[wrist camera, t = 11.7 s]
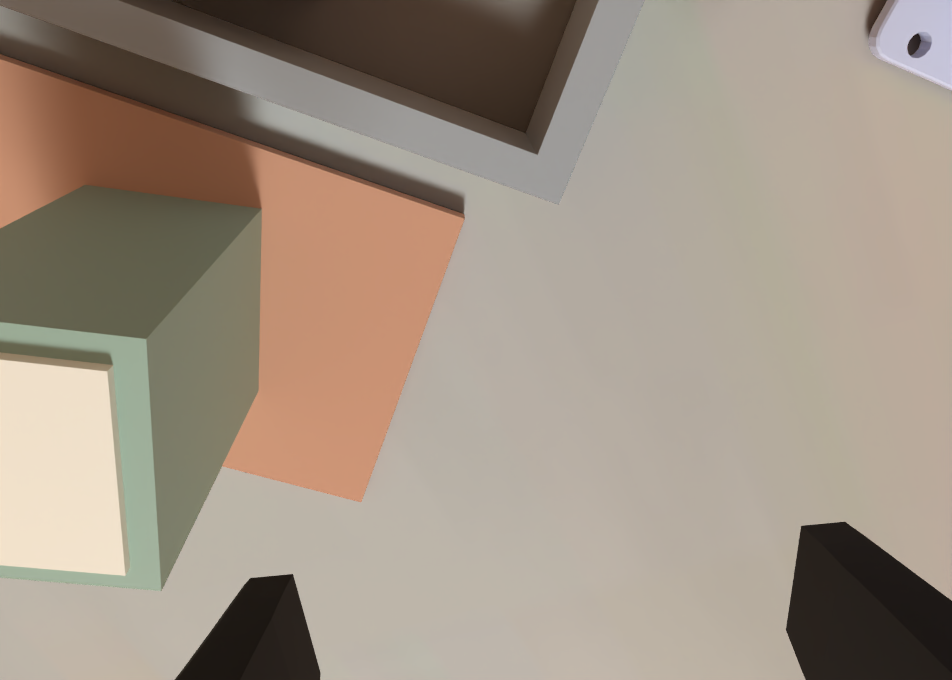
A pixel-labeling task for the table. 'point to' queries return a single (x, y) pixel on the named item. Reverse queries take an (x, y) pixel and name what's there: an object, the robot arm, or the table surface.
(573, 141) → the parts bin
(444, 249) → the mat
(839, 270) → the table surface
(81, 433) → the labelled box
